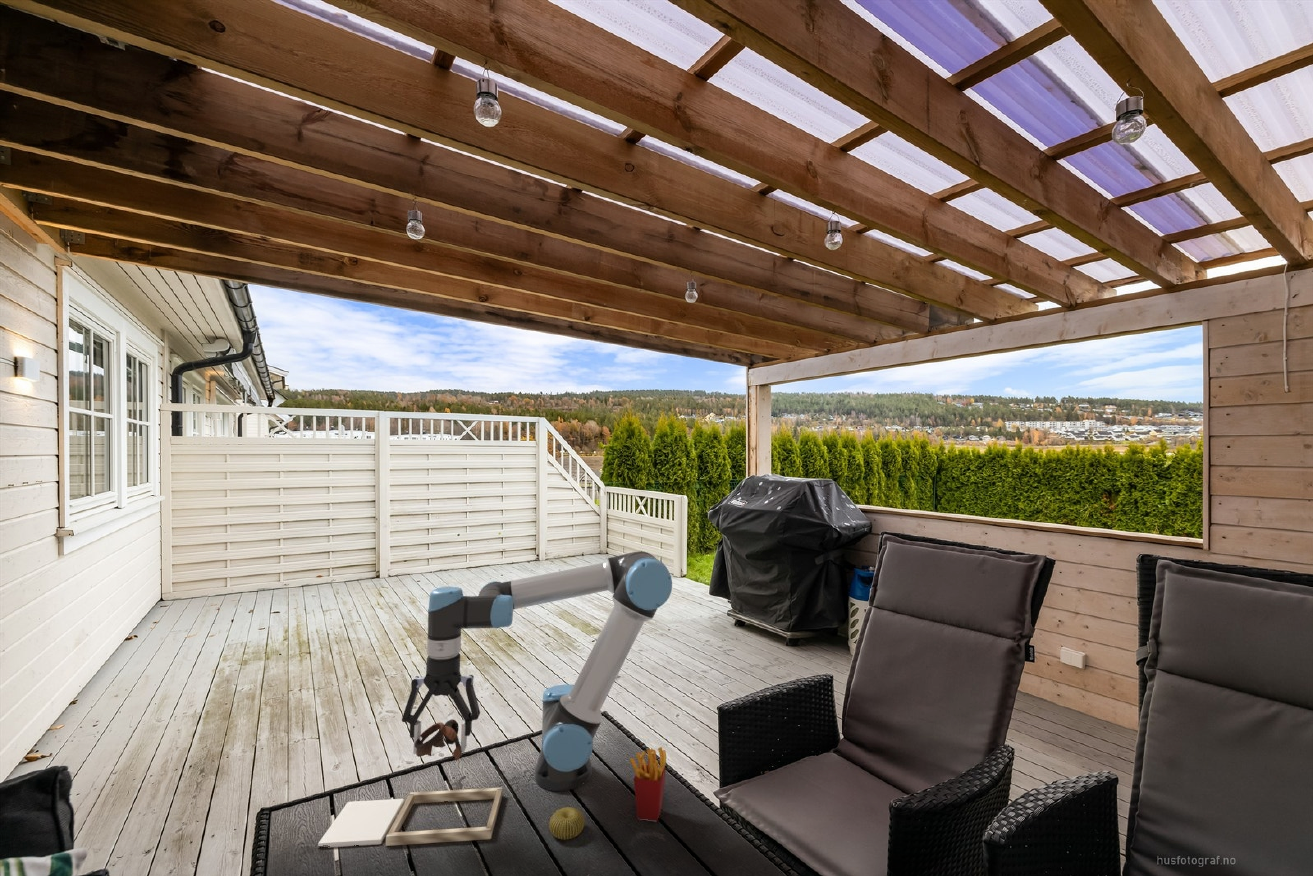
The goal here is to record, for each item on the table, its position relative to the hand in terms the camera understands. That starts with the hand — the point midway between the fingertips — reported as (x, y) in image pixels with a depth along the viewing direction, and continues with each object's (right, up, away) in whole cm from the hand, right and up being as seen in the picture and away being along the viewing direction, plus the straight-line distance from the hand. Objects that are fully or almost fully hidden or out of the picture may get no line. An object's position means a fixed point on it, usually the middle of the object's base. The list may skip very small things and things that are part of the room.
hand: (440, 750), depth 133 cm
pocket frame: (+2, -16, 0) cm, 16 cm away
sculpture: (+31, -16, -4) cm, 35 cm away
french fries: (+49, -17, +3) cm, 52 cm away
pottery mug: (+1, -1, -1) cm, 1 cm away
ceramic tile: (-17, -16, -3) cm, 23 cm away
